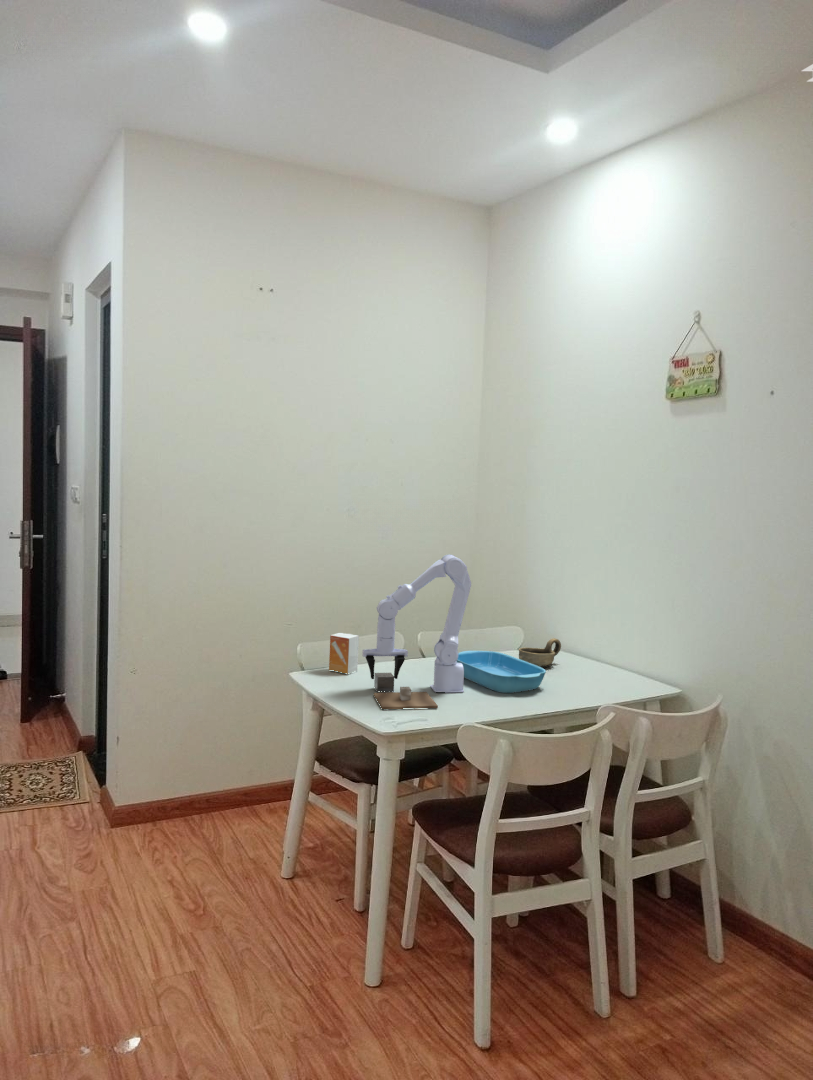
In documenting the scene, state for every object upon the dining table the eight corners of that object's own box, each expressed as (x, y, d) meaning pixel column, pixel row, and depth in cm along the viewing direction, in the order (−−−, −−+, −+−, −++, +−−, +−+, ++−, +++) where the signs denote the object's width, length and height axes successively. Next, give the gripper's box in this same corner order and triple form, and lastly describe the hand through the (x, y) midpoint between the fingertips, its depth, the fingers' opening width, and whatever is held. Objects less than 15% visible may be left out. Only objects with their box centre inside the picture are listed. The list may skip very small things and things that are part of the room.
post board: (426, 694, 258) (426, 681, 258) (437, 708, 243) (438, 694, 243) (373, 695, 254) (374, 681, 254) (382, 710, 240) (382, 695, 239)
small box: (328, 671, 282) (329, 634, 281) (338, 668, 288) (340, 632, 286) (347, 675, 278) (349, 638, 277) (357, 671, 284) (359, 635, 283)
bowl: (510, 662, 306) (511, 636, 306) (548, 659, 314) (550, 634, 313) (529, 671, 294) (531, 644, 293) (569, 668, 301) (571, 642, 300)
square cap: (390, 687, 265) (391, 672, 264) (393, 692, 260) (394, 676, 259) (374, 687, 264) (374, 672, 263) (377, 692, 258) (377, 677, 258)
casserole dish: (557, 692, 268) (558, 671, 268) (504, 700, 257) (505, 677, 256) (490, 666, 300) (491, 647, 299) (440, 672, 288) (441, 652, 288)
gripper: (405, 634, 266) (403, 674, 267) (361, 634, 262) (359, 675, 264) (409, 638, 259) (407, 680, 260) (365, 638, 256) (363, 680, 257)
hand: (384, 678), depth 261 cm, fingers open, 7 cm apart
